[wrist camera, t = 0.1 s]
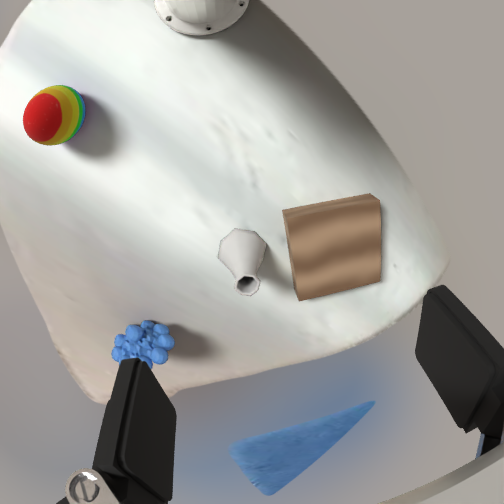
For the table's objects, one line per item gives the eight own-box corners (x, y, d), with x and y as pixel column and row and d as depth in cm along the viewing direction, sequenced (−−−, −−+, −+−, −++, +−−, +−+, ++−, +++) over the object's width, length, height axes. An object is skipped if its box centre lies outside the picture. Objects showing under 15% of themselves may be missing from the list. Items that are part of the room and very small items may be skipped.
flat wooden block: (281, 209, 47) (286, 218, 43) (368, 192, 47) (379, 200, 43) (293, 287, 53) (298, 301, 50) (370, 269, 53) (380, 281, 50)
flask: (274, 241, 49) (287, 274, 40) (250, 278, 51) (257, 316, 42) (232, 219, 46) (235, 249, 38) (209, 259, 49) (208, 295, 40)
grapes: (168, 295, 51) (158, 345, 40) (183, 326, 54) (177, 377, 44) (109, 310, 51) (89, 357, 41) (125, 338, 54) (111, 386, 44)
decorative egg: (37, 104, 35) (-1, 109, 26) (80, 75, 34) (46, 71, 25) (57, 150, 39) (22, 165, 30) (100, 123, 38) (70, 130, 29)
